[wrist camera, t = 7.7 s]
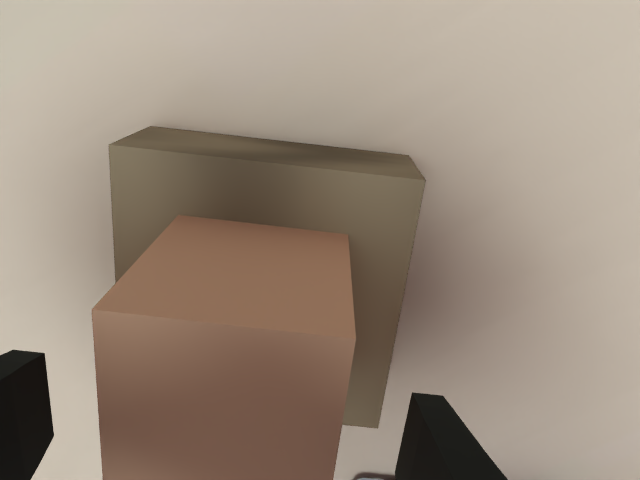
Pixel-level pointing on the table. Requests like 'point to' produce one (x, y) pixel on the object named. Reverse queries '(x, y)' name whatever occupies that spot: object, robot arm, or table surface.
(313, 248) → the light tan block
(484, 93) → the table surface
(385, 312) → the olive block
